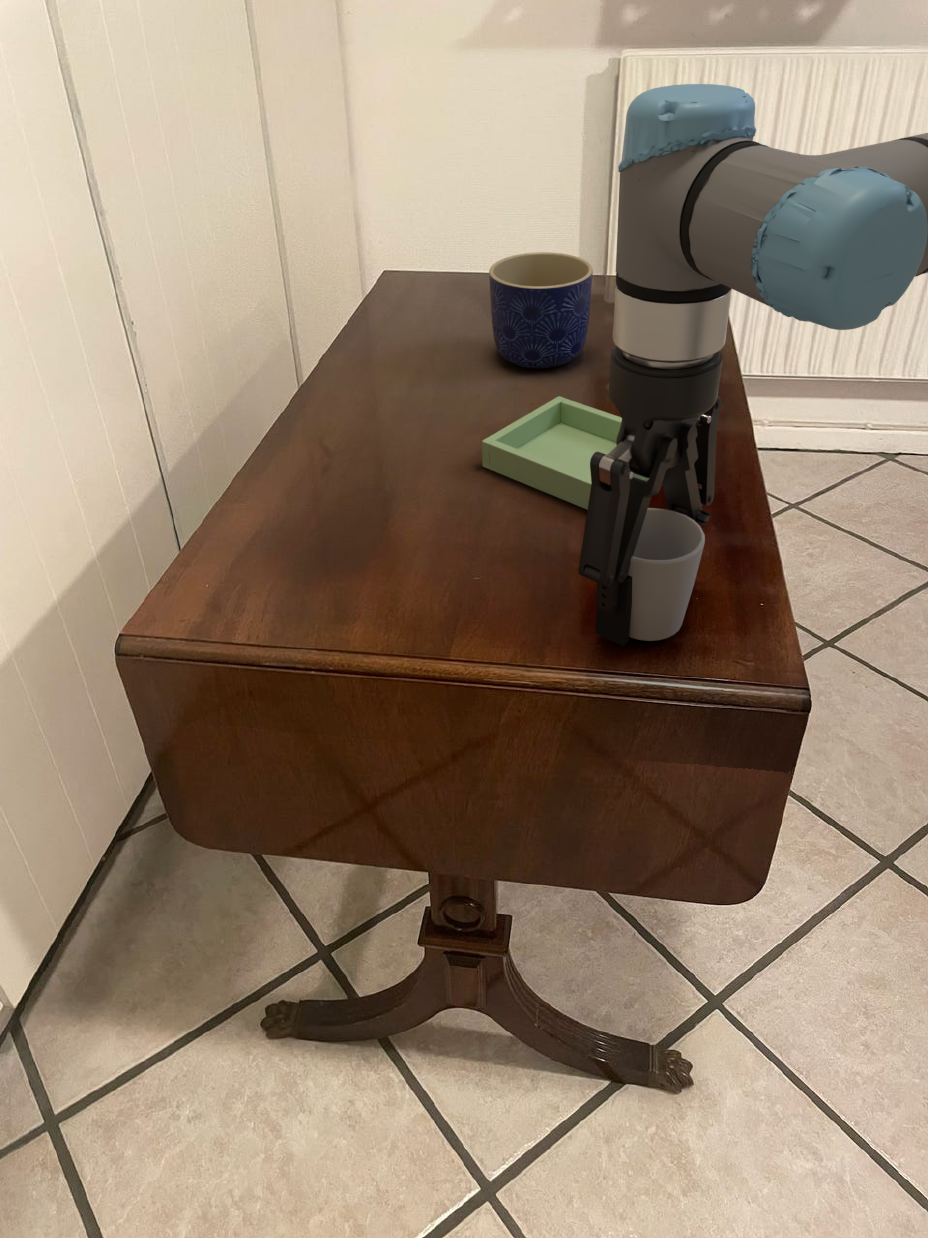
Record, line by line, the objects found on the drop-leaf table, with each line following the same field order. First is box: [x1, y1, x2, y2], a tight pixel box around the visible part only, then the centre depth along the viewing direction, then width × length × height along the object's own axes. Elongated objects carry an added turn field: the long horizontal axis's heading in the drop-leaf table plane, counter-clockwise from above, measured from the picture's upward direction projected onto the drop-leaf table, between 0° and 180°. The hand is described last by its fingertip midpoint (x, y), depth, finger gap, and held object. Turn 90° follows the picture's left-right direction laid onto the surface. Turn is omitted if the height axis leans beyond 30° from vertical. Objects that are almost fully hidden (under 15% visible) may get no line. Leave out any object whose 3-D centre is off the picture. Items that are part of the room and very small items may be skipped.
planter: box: [488, 251, 594, 369], centre depth 117 cm, size 12×12×11 cm
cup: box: [627, 507, 706, 642], centre depth 76 cm, size 8×10×8 cm
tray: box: [481, 395, 649, 511], centre depth 98 cm, size 15×13×3 cm
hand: (642, 610), depth 79 cm, fingers closed on cup, 8 cm apart
